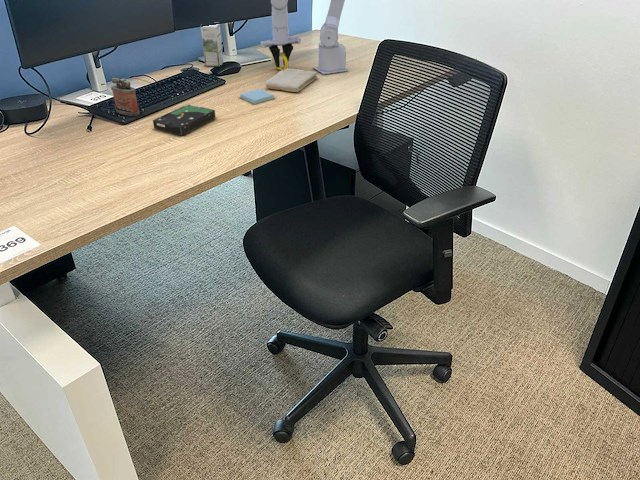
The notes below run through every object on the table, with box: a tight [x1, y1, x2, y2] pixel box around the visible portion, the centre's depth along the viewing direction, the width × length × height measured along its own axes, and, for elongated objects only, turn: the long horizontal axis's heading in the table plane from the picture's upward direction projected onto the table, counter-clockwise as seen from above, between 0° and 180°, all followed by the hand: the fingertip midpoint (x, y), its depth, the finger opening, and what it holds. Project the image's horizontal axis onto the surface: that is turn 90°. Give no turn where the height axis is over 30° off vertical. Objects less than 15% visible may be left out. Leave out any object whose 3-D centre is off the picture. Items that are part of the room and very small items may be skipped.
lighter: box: [110, 77, 141, 117], centre depth 155 cm, size 8×3×10 cm, turn 65°
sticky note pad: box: [239, 88, 275, 105], centre depth 168 cm, size 8×8×1 cm
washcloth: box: [265, 67, 318, 93], centre depth 180 cm, size 12×18×3 cm, turn 159°
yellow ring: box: [276, 51, 289, 71], centre depth 192 cm, size 6×3×6 cm, turn 44°
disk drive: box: [152, 104, 217, 136], centre depth 150 cm, size 10×3×15 cm
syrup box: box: [200, 23, 224, 68], centre depth 194 cm, size 6×6×14 cm
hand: (281, 66), depth 193 cm, fingers closed on yellow ring, 2 cm apart
